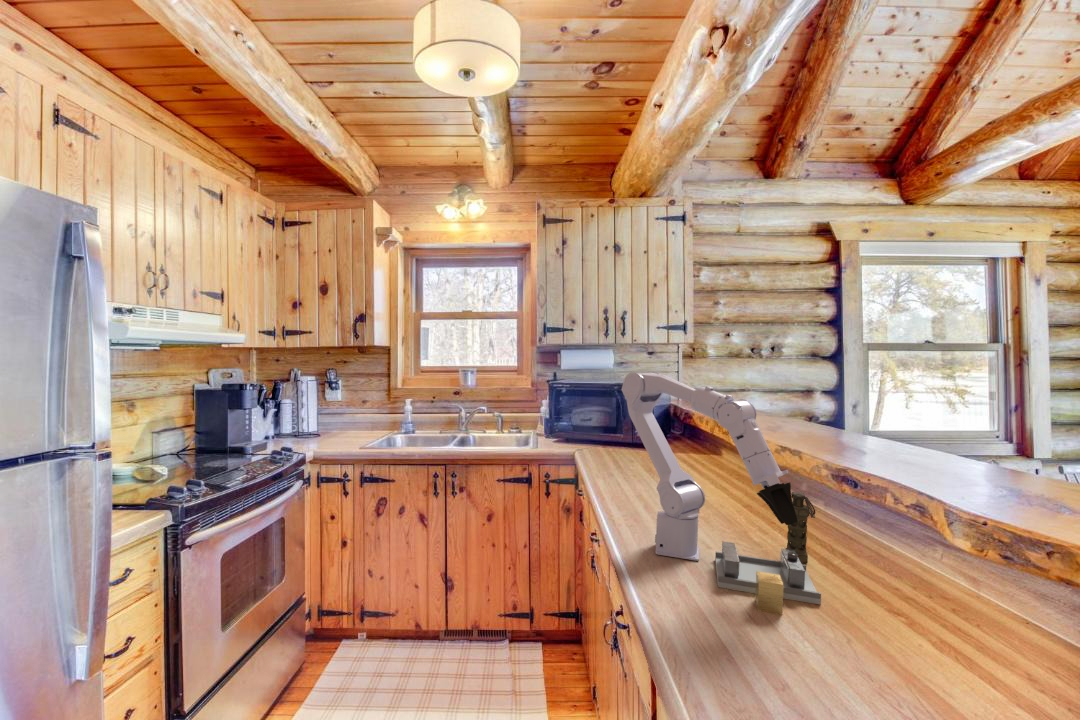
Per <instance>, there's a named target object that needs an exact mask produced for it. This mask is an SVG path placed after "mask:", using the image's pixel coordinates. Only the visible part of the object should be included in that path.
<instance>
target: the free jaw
mask: <svg viewBox="0 0 1080 720" xmlns="http://www.w3.org/2000/svg"><path fill="white" fill-rule="evenodd" d="M779 561H780V566H781V569H782V571H783V574H784V576H785V579H786V581H787V584H788V586H789V587H791V588H797V589H803V590H804V585H805V570H804V568H803V566H802V564H803V563H801V562H800V560H799V558H798V554H796V552H795V550H789V549H785V548H781V551H780V560H779Z"/></svg>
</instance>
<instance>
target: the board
mask: <svg viewBox="0 0 1080 720" xmlns="http://www.w3.org/2000/svg"><path fill="white" fill-rule="evenodd" d="M738 557H739V576H738V579H736V578H730V577H724V572H723V565H722V551H715V555H714V558H715V559H714V561H715V562H714V563H715V572H716V580H717V581H716V582H717V587H718V588H721V589H726V588H727V589H728V590H734V591H737V592H738V591H739V592H744V593H751V594H755V592H756V571H758V572H764V573H771V574H777V575H780V577H781V580H782V582H783V600H784V599H785V600H792V601H797V602H803V603H809V604H815V605H819V606H820V605H822V593H821V591H820V592H819V591H817V589H816V587H815V585H814V583H813V581H812V579H811V577H810V575H809V573H808V571H807V565H806V564H804V563H801V564H802V566H803V568H804V570H805V585H804V590H803V589H797V588H791V587H789V586H788V584H787V581H786V579H785V576H784V574H783V571H782V569H781V566H780V561H781V560H775V559H768V558H763V557H762V558H761V557H756V556H750V555H742V554H738Z"/></svg>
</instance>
